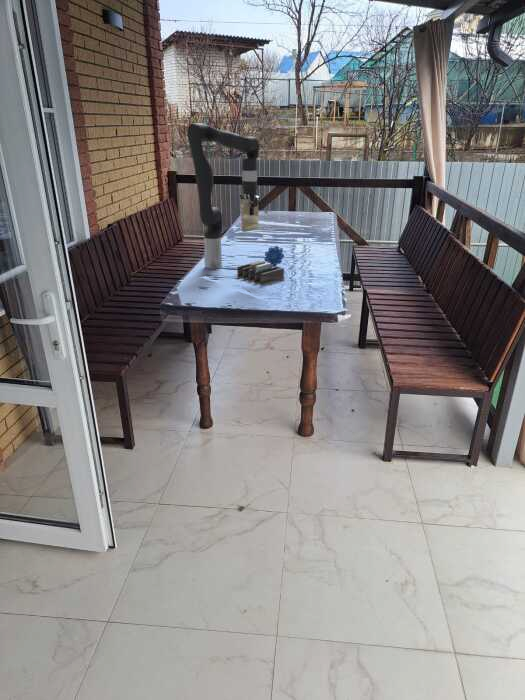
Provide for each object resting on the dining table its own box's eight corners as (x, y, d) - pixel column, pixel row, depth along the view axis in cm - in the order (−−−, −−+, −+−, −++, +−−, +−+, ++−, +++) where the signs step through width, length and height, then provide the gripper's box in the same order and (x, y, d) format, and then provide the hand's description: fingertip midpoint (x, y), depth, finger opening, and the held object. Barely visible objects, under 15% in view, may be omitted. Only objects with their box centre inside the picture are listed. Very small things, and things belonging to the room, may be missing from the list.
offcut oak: (250, 277, 258) (249, 264, 255) (262, 273, 263) (262, 260, 260) (252, 277, 257) (252, 264, 254) (265, 274, 262) (265, 261, 259)
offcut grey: (255, 278, 255) (255, 265, 252) (268, 275, 261) (268, 262, 257) (258, 279, 254) (258, 266, 251) (270, 276, 259) (270, 263, 256)
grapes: (285, 265, 283) (286, 244, 278) (283, 268, 278) (283, 247, 272) (266, 263, 286) (266, 243, 281) (263, 266, 280) (263, 246, 275)
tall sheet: (241, 231, 254) (241, 199, 247) (255, 228, 260) (255, 197, 253) (244, 232, 253) (243, 200, 246) (258, 229, 259) (258, 198, 252)
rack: (234, 278, 261) (233, 266, 258) (259, 271, 272) (258, 260, 269) (262, 287, 246) (262, 275, 244) (287, 280, 258) (287, 268, 255)
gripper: (235, 179, 248) (235, 214, 255) (253, 181, 239) (253, 217, 246) (246, 178, 252) (246, 212, 260) (264, 180, 243) (264, 215, 251)
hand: (250, 214), depth 253 cm, fingers closed on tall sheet, 2 cm apart
